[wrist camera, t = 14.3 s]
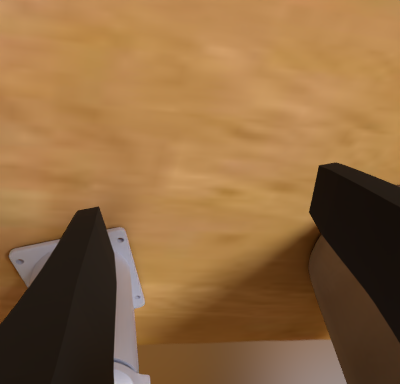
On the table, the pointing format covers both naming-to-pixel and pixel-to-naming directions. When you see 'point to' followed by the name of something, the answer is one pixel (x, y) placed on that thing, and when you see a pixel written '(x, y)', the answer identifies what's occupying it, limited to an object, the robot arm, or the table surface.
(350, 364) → the plant pot
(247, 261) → the table surface
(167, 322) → the table surface
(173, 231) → the table surface
